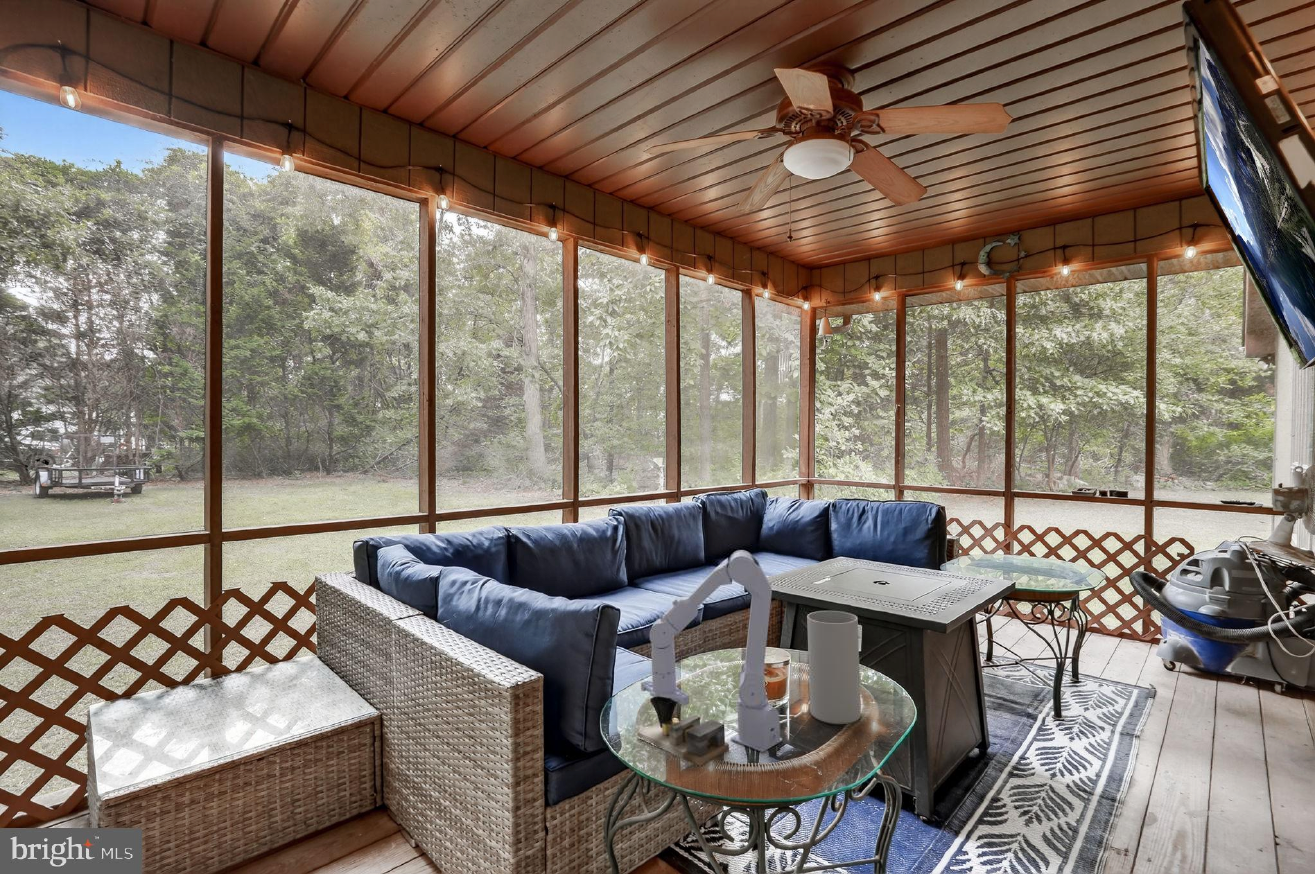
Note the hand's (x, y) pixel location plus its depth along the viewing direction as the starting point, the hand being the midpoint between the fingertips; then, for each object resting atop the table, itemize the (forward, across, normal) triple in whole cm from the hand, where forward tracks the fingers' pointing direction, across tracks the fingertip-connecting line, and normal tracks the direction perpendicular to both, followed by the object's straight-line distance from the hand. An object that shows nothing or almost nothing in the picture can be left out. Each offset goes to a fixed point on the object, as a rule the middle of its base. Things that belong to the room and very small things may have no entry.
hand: (665, 727), depth 154 cm
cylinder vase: (+3, +23, +38) cm, 45 cm away
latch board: (+2, +6, 0) cm, 6 cm away
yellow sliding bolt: (+1, +7, 0) cm, 7 cm away
